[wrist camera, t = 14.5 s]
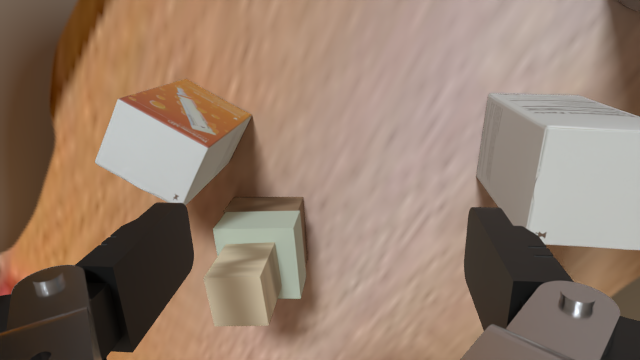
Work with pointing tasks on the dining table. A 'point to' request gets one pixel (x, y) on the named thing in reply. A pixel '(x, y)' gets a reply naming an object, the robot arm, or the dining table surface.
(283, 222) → the sage slab
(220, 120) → the small box
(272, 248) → the maple block
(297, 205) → the walnut slab
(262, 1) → the dining table surface
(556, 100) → the supplement box
